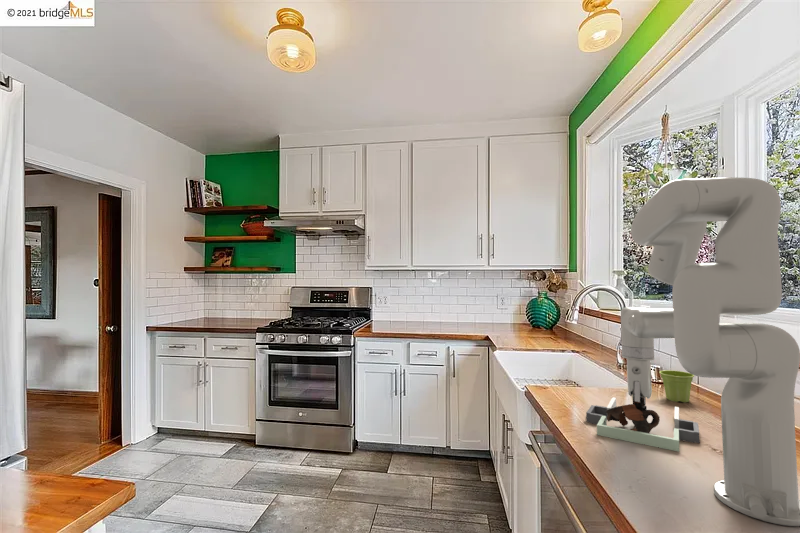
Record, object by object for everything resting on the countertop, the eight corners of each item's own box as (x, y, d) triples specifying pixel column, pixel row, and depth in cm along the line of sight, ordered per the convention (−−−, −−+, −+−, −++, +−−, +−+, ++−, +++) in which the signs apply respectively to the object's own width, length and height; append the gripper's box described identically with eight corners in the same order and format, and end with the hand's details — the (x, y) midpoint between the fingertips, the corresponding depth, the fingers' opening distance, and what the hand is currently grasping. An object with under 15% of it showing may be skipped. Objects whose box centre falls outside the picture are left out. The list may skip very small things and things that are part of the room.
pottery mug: (620, 442, 94) (605, 408, 99) (613, 445, 102) (599, 413, 107) (672, 432, 92) (655, 397, 97) (660, 436, 100) (645, 404, 105)
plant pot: (653, 398, 128) (652, 371, 128) (671, 394, 132) (670, 368, 132) (684, 406, 120) (683, 378, 120) (701, 401, 124) (700, 374, 124)
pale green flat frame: (701, 456, 86) (700, 444, 86) (580, 431, 100) (579, 421, 100) (696, 418, 109) (696, 409, 109) (598, 403, 123) (598, 395, 123)
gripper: (652, 358, 96) (654, 432, 96) (655, 349, 108) (657, 415, 108) (618, 355, 101) (620, 426, 100) (624, 347, 113) (626, 410, 112)
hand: (639, 420), depth 104 cm, fingers closed
